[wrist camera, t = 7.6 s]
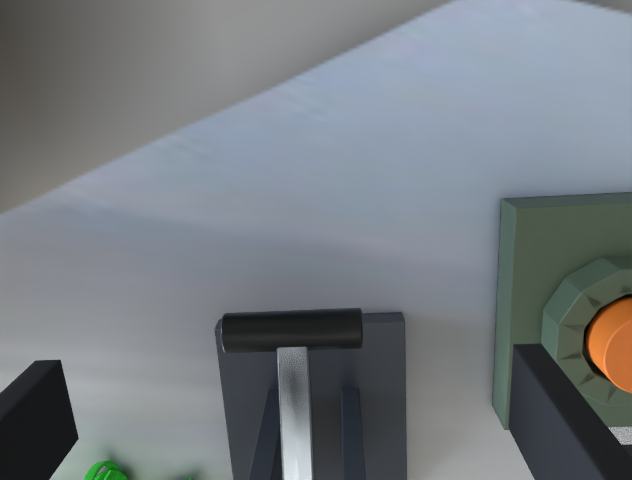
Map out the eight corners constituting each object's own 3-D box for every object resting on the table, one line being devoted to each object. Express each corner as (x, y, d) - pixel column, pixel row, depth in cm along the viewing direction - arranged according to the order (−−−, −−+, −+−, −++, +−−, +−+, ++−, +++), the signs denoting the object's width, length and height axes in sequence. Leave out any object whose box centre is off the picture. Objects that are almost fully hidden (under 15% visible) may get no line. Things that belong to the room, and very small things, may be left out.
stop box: (501, 198, 26) (530, 217, 22) (706, 188, 25) (773, 206, 21) (492, 405, 29) (515, 453, 25) (673, 400, 29) (726, 448, 25)
